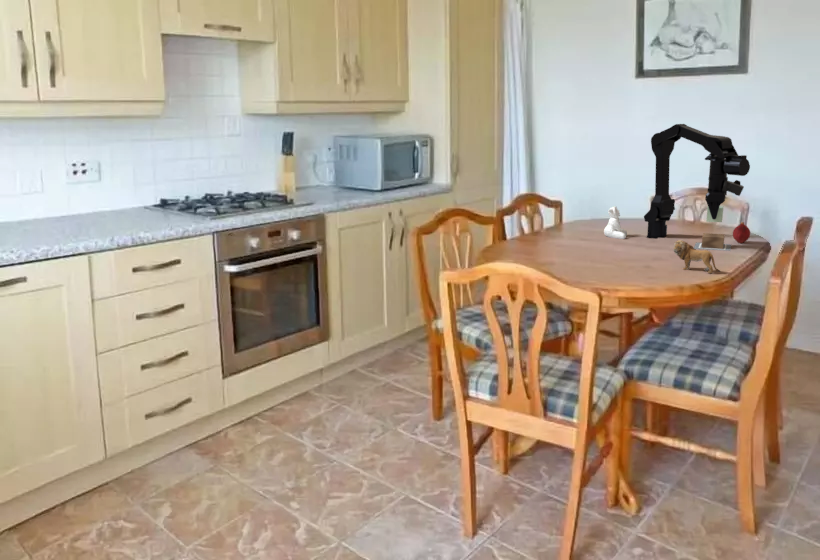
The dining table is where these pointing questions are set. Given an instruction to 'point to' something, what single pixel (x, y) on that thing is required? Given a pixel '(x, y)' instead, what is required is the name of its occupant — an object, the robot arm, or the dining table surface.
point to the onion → (741, 233)
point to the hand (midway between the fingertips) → (714, 217)
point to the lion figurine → (693, 255)
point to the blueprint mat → (726, 248)
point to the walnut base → (713, 241)
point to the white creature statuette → (614, 225)
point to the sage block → (719, 215)
